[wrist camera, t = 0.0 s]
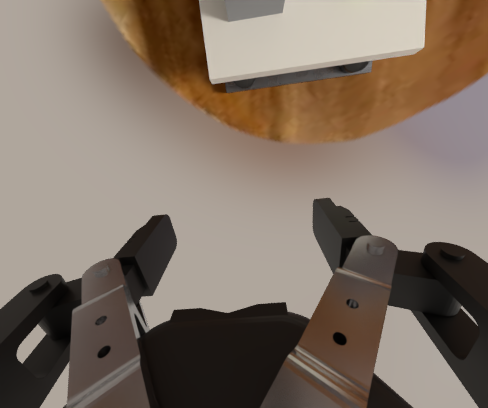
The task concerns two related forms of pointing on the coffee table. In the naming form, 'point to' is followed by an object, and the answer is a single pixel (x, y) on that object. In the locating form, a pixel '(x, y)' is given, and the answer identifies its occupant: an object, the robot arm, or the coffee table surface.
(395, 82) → the coffee table surface
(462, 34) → the coffee table surface
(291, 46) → the plate
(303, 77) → the tribrach base
